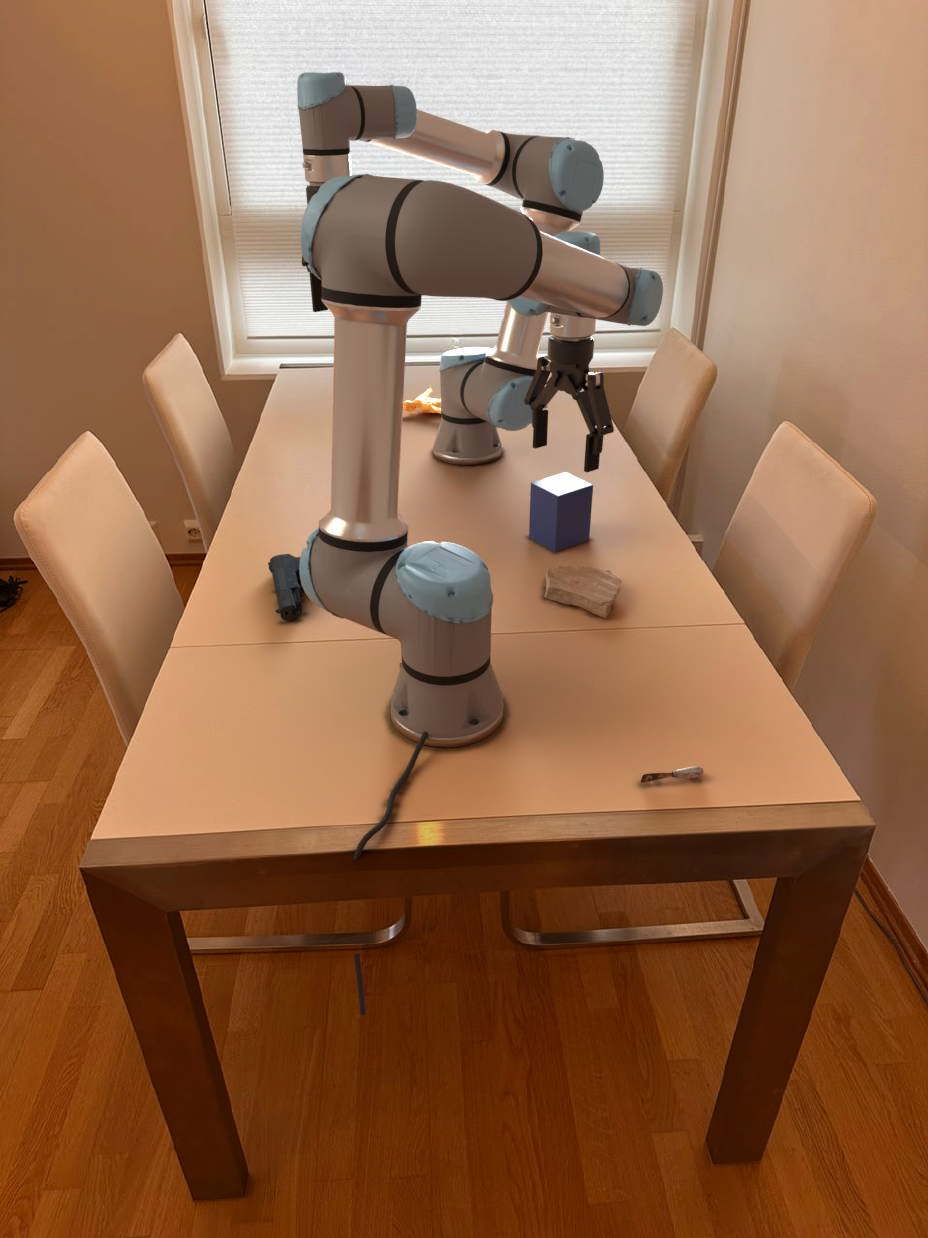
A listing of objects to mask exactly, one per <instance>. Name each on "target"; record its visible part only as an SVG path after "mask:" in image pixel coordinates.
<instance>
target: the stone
mask: <svg viewBox="0 0 928 1238" xmlns="http://www.w3.org/2000/svg"><path fill="white" fill-rule="evenodd" d="M621 584H622V578H620V577H619V576H617V575H615V574H614V573H612V570H611V569H601V568H598V567H595V566H581V567H573V566H563V565H562V566H561V565H560V566H558V567H547V569H546V574H545V593H544V598H545V599H547V600H550V601H555V602H558V603H562V604H563V605H572V606H576V607H579V608H581V609H584V610H586V611H588V612H589V613H592V614H593V615H596V616H598V617H601V618H603V619H607V618H608V615H609V614H610V612H611V609H612V604H614V603H615V600H616V599H617V596H618V594H619V592H620V590H621Z"/></svg>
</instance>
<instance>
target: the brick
mask: <svg viewBox="0 0 928 1238" xmlns="http://www.w3.org/2000/svg"><path fill="white" fill-rule="evenodd" d="M593 493H594V484H593V483H591V482H588V481H586V480H584V479H582V478H580V477H577V476H575V475H573V474H571V473H569V472H567V471H563V472H561V473H560V472H559V473H558V474H554V475H551V476H548V477H547V476H546V477H545V478H541V479H538V480H535V481H532V482H530V494H529V495H530V497H529V518H528V519H529V520H528V523H529V524H528V538H529V539H531V540H533V541H534V542H536V543H538V544H540V545H542V546H544V547H545V548H547V549H549V550H550V551H551V552H554V553H556V552H559V551H562V550H565V549H567V548H571V547H573V546H576V545H579V544H582V543H584V542H586V541H589V540H590V533H591V522H592V521H591V519H592V507H593V495H594V494H593Z"/></svg>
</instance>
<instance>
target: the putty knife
mask: <svg viewBox="0 0 928 1238" xmlns="http://www.w3.org/2000/svg"><path fill="white" fill-rule="evenodd" d="M704 772H705V771H704V768H702V767H701V766H697V765H695V766H688V767H683V768H679V769H675V770H673V771H671V772H653V773H652V772H651V773H650V772H649V773H644V774H642V776H641V779H640V783H642V784H645V783H648V782H653V781H659V780H665V779H668V778H673V779H674V778H675V779H693V778H694V779H695V778H700V777H702V776H703V775H704Z"/></svg>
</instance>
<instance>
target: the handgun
mask: <svg viewBox="0 0 928 1238" xmlns="http://www.w3.org/2000/svg"><path fill="white" fill-rule="evenodd" d="M300 557H301V556H294V555H292V554H290V553H284V554H281V553H280V554H277V555H273V556H272V557H271V558H270V559H269V561H268V562H267V565H268V570H269V572H270V573H271V575H272V581H273V585H274V590H275V597H276V601H277V605H278V608H276V609H275V610H274V612H275V613H276V614H279V615H280V618H281V619H282V620H283V621H293V620H294V621H295V620H297V617H298V612H299V614H300V615H302V614H303V605H302V599H301V595H302V594H306V593H305V591H304V589H303V587H302V584H301V579H300V572H299V565H300Z"/></svg>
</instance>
